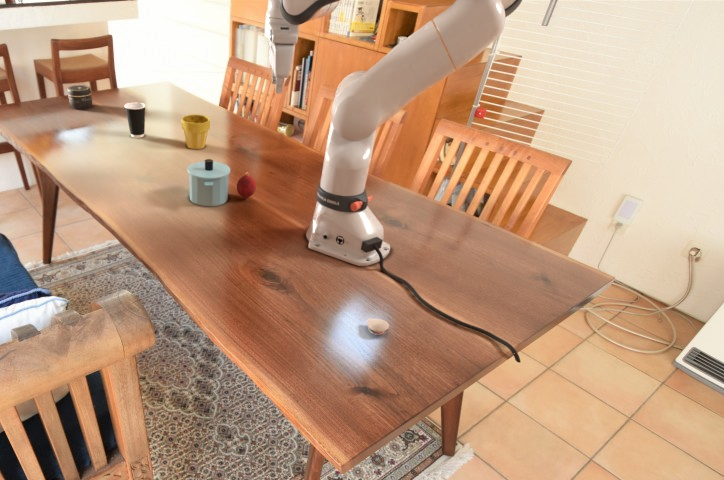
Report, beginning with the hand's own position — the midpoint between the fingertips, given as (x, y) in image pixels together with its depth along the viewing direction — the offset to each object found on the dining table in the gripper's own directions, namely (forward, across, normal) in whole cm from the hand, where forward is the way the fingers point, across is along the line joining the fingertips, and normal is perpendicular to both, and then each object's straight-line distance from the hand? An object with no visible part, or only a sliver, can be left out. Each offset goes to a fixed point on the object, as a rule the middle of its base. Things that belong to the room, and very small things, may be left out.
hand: (276, 88), depth 136 cm
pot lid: (+21, +8, -19) cm, 29 cm away
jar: (+29, -83, -75) cm, 116 cm away
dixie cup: (+29, -47, -46) cm, 72 cm away
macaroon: (+29, +70, +16) cm, 78 cm away
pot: (+29, +8, -19) cm, 35 cm away
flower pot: (+29, -37, -24) cm, 52 cm away
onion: (+29, +8, -7) cm, 31 cm away
